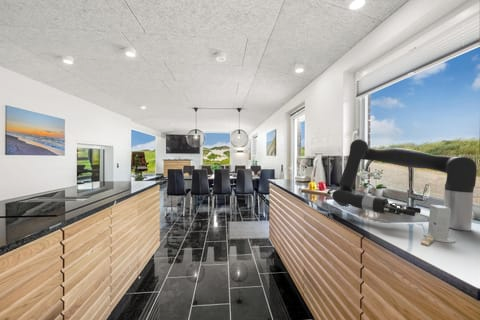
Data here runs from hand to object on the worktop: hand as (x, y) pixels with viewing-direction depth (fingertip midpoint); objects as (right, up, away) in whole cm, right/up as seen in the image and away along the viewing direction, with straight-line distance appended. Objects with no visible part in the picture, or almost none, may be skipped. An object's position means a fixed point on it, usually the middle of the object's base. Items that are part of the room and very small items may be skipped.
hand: (417, 212), depth 88 cm
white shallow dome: (+4, -9, -5) cm, 11 cm away
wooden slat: (-5, -9, -10) cm, 14 cm away
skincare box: (+4, -9, -5) cm, 11 cm away
